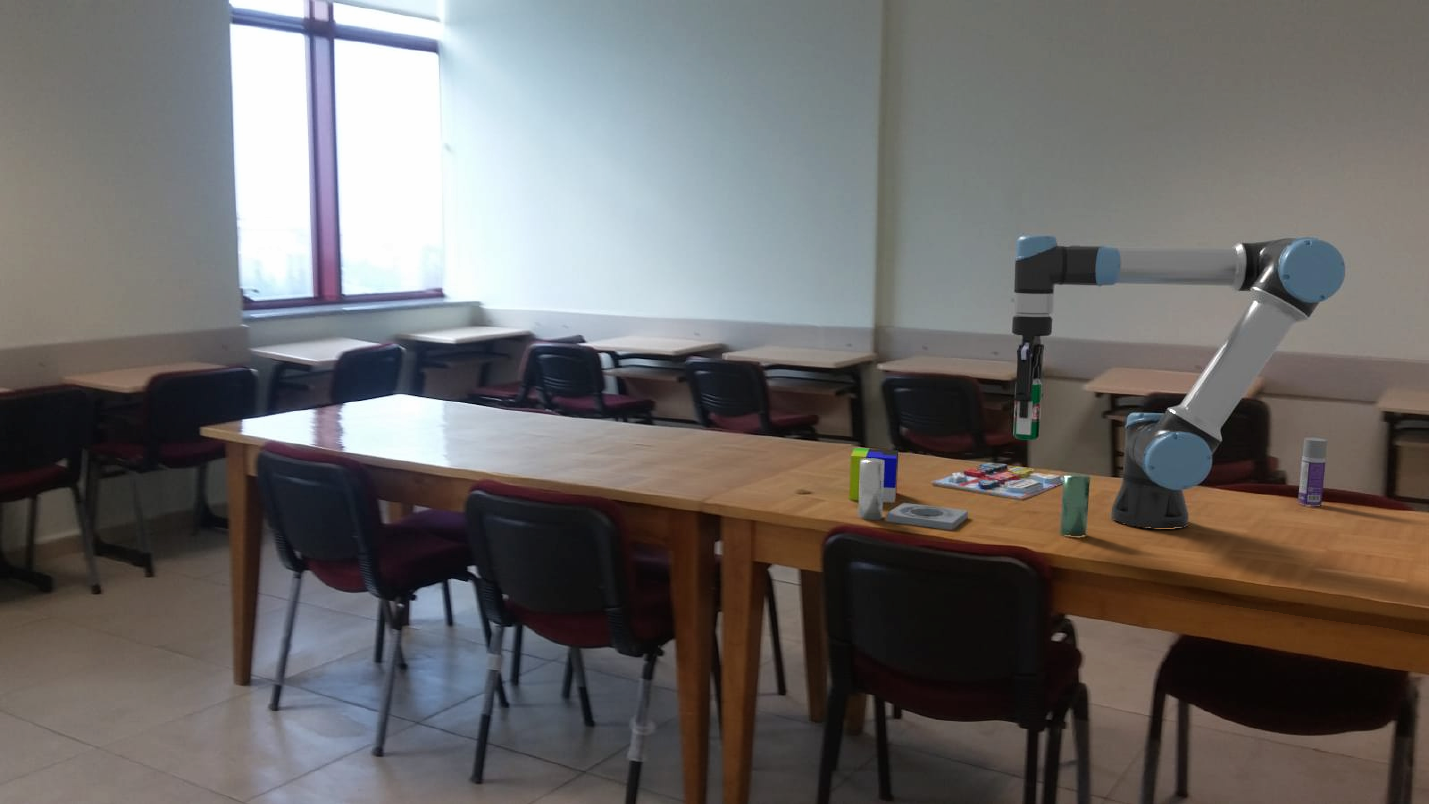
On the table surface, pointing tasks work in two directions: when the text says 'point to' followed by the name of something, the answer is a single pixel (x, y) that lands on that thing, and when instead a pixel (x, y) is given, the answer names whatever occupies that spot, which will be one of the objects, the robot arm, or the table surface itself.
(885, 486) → the puzzle toy
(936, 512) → the socket board
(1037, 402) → the soda can
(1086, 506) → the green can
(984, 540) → the table surface
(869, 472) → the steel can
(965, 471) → the puzzle board
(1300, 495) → the container
